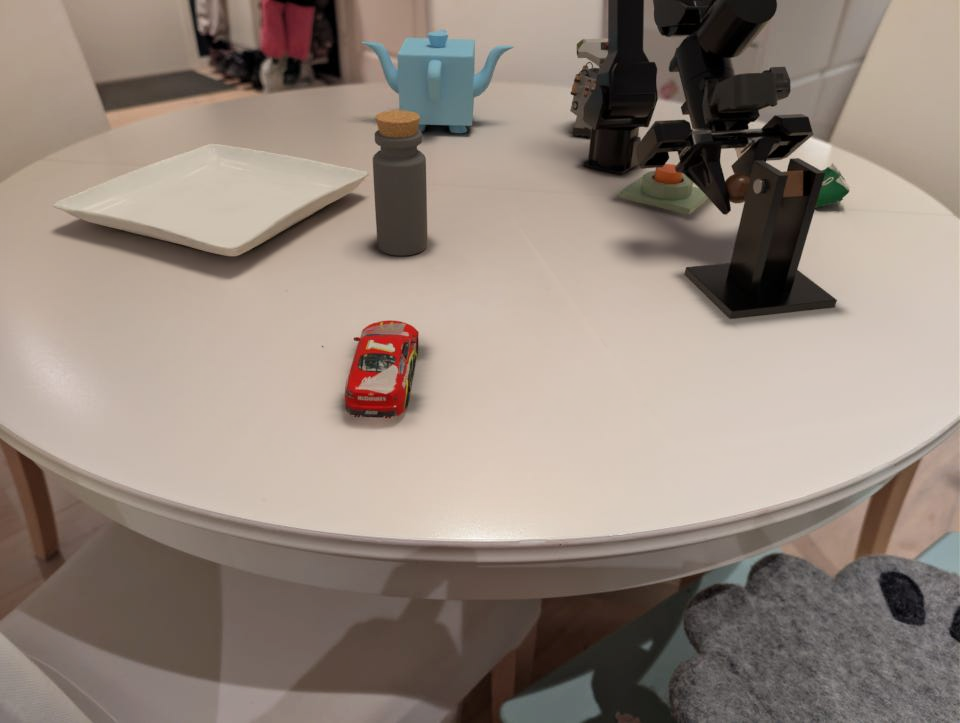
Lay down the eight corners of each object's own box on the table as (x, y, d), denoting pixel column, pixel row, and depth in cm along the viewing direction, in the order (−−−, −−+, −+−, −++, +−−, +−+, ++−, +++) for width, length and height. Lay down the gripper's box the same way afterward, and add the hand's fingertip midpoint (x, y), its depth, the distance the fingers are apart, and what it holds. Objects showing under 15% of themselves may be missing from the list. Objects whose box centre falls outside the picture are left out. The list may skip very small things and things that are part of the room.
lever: (717, 204, 82) (717, 174, 81) (743, 202, 82) (743, 173, 82) (778, 202, 71) (779, 167, 70) (807, 199, 72) (808, 165, 71)
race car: (366, 337, 70) (363, 300, 68) (423, 340, 70) (423, 302, 68) (336, 424, 59) (332, 382, 57) (404, 427, 59) (402, 386, 56)
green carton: (813, 224, 100) (856, 197, 97) (798, 203, 99) (841, 175, 96) (802, 199, 107) (842, 174, 104) (788, 179, 106) (828, 153, 103)
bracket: (683, 276, 82) (707, 153, 74) (779, 267, 84) (812, 147, 77) (729, 321, 74) (761, 189, 66) (834, 310, 76) (877, 180, 69)
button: (649, 181, 99) (651, 169, 98) (660, 174, 102) (662, 162, 101) (675, 187, 98) (677, 174, 97) (685, 180, 100) (687, 167, 99)
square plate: (374, 196, 100) (372, 168, 97) (237, 280, 79) (232, 246, 77) (215, 163, 109) (210, 137, 106) (56, 231, 88) (46, 199, 86)
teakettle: (434, 147, 118) (433, 48, 109) (362, 121, 128) (356, 29, 120) (515, 125, 129) (520, 34, 121) (442, 103, 140) (442, 18, 132)
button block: (618, 199, 101) (621, 178, 99) (642, 183, 106) (645, 162, 104) (688, 217, 96) (692, 195, 94) (710, 199, 102) (714, 178, 100)
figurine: (631, 143, 122) (645, 46, 113) (563, 135, 124) (571, 39, 116) (638, 128, 129) (651, 35, 121) (573, 121, 132) (582, 30, 123)
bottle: (435, 239, 88) (433, 111, 80) (415, 259, 84) (411, 126, 75) (390, 232, 90) (384, 105, 82) (368, 251, 85) (360, 119, 77)
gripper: (662, 39, 74) (696, 182, 71) (826, 35, 78) (865, 171, 74) (622, 102, 84) (650, 229, 81) (767, 96, 88) (800, 217, 85)
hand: (741, 211), depth 80 cm, fingers closed on lever, 3 cm apart
